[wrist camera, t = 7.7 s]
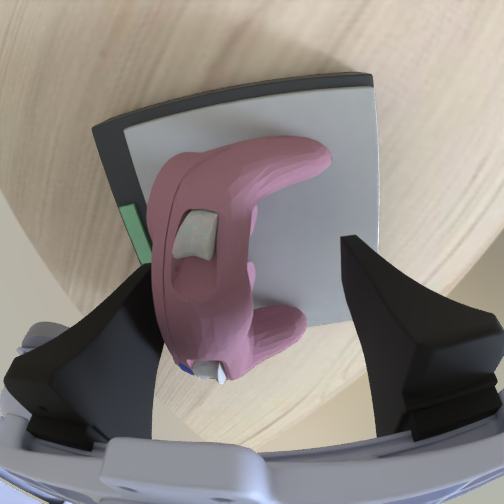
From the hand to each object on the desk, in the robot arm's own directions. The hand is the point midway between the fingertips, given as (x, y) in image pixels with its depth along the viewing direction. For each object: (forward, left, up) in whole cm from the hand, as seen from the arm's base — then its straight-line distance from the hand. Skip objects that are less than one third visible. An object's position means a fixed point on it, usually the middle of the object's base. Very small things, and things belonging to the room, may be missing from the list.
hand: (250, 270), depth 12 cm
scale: (0, 0, -5) cm, 5 cm away
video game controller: (0, 0, -2) cm, 2 cm away
